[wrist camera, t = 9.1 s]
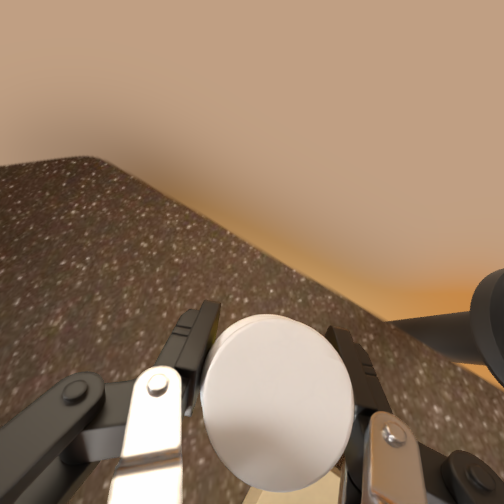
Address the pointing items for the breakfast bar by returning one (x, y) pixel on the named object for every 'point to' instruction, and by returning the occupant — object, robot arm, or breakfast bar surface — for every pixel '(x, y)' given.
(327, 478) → the knob base panel
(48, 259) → the breakfast bar surface
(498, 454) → the breakfast bar surface
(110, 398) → the robot arm
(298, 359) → the supplement bottle
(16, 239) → the breakfast bar surface
